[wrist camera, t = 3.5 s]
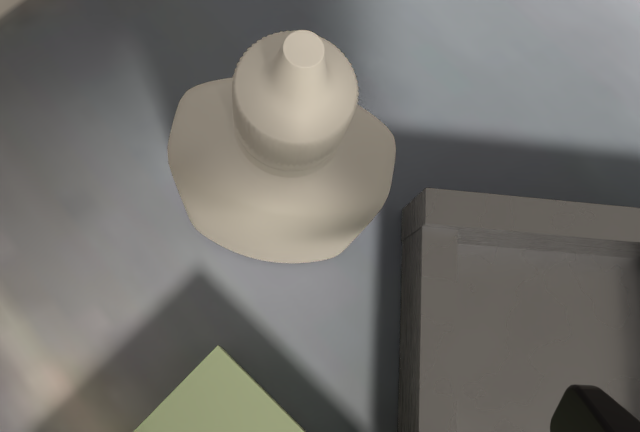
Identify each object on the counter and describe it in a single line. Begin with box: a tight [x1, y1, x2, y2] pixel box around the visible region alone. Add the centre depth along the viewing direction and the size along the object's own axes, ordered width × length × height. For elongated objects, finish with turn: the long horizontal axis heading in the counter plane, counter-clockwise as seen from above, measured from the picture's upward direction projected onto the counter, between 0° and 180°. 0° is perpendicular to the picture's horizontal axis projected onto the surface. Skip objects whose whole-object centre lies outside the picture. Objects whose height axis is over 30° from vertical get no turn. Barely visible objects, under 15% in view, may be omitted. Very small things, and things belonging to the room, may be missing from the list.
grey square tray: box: [398, 188, 640, 432], centre depth 20 cm, size 10×11×3 cm
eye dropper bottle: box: [168, 30, 396, 263], centre depth 15 cm, size 4×6×12 cm
